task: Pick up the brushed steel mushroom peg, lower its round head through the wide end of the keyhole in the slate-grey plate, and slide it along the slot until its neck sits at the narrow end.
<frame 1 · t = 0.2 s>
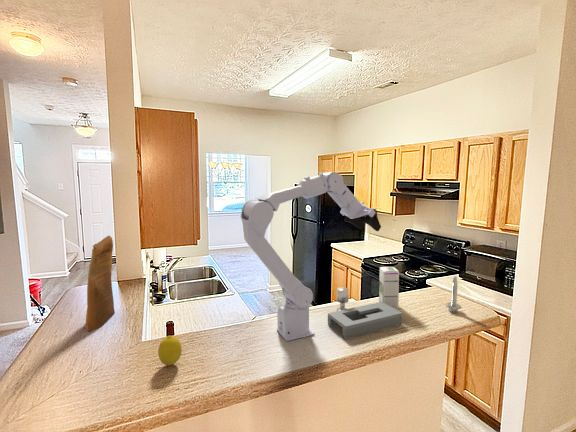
hand: (370, 228, 103), 31 cm above the counter, tool tilted 45°, fingers open, 7 cm apart
keyhole plate: (364, 324, 99), on the counter
syrup box: (388, 307, 113), on the counter
lemon: (170, 366, 78), on the counter
steel peg: (342, 313, 107), on the counter
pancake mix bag: (103, 320, 104), on the counter
screw: (453, 311, 109), on the counter
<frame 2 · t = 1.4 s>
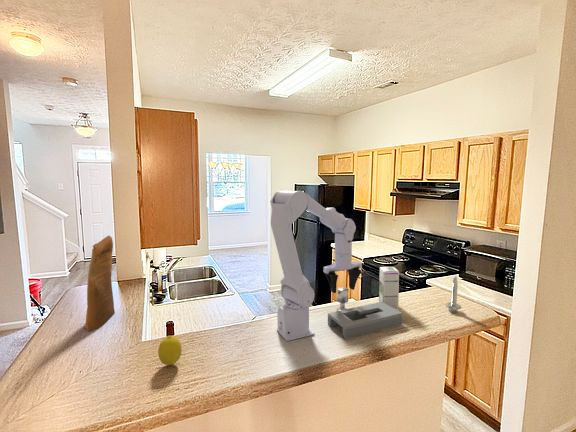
hand: (342, 290, 106), 9 cm above the counter, tool pointing down, fingers open, 7 cm apart
nothing on the counter moved.
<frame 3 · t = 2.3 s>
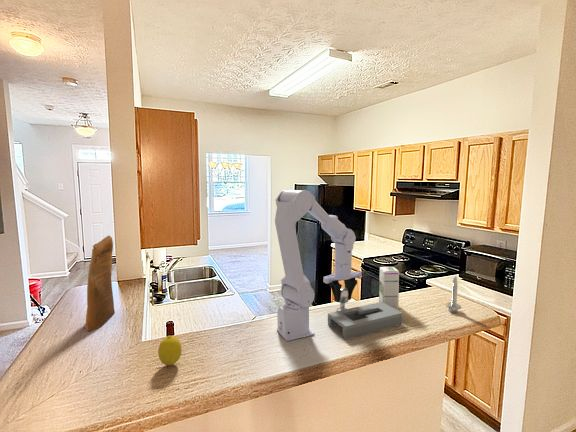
hand: (342, 300, 107), 5 cm above the counter, tool pointing down, fingers closed on steel peg, 4 cm apart
steel peg: (342, 313, 107), on the counter, touching gripper
everything else where it was.
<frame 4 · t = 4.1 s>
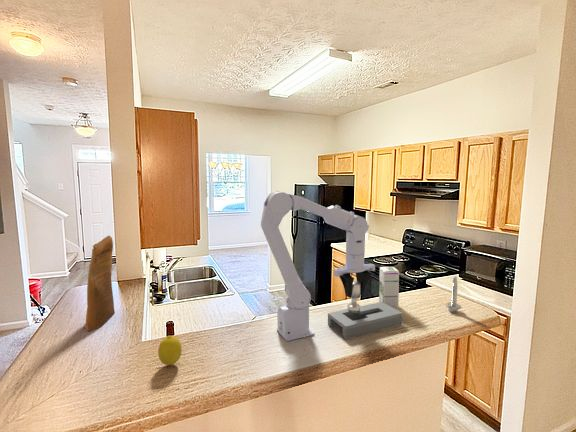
hand: (354, 295, 97), 10 cm above the counter, tool pointing down, fingers closed on steel peg, 4 cm apart
steel peg: (353, 310, 98), point 5 cm above the counter, touching gripper
everything else where it was.
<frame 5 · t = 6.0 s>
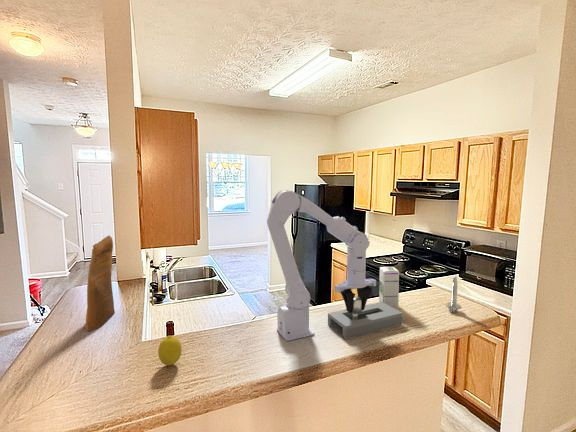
hand: (355, 310, 97), 6 cm above the counter, tool pointing down, fingers closed on steel peg, 4 cm apart
steel peg: (354, 325, 97), point 1 cm above the counter, touching gripper
everything else where it was.
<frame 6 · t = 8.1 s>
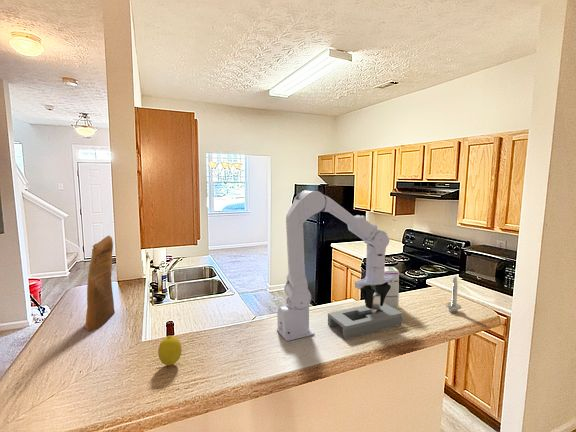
hand: (374, 306, 100), 6 cm above the counter, tool pointing down, fingers closed on steel peg, 4 cm apart
steel peg: (373, 320, 100), point 1 cm above the counter, touching gripper
everything else where it was.
when the fingers open (6 cm above the counter, at t = 10.0 s): steel peg stays where it is, on the counter.
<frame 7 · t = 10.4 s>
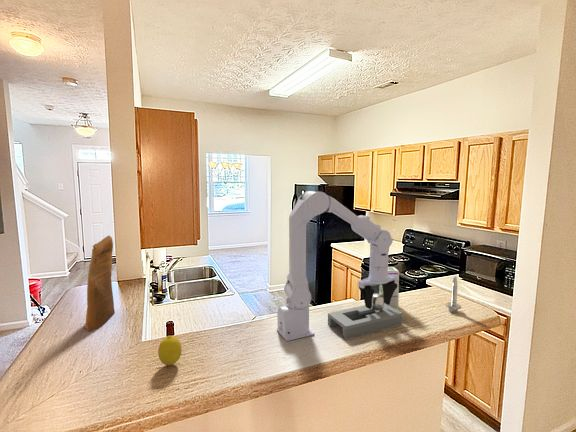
hand: (377, 305, 100), 6 cm above the counter, tool pointing down, fingers open, 7 cm apart
steel peg: (376, 321, 101), on the counter
everything else where it was.
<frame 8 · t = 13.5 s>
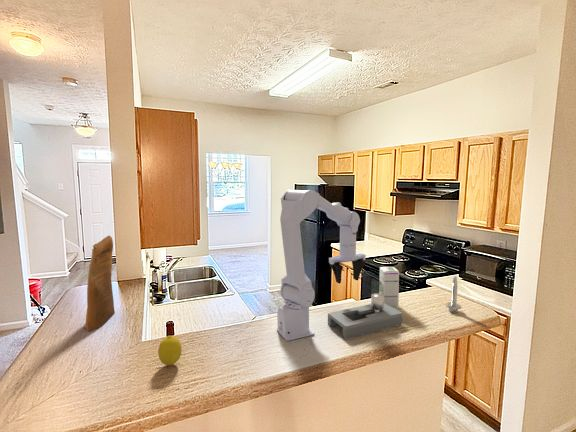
hand: (347, 281, 110), 10 cm above the counter, tool pointing down, fingers open, 7 cm apart
nothing on the counter moved.
at the end: steel peg 0.1 cm from the target spot on the keyhole plate, point 0.0 cm above the keyhole plate's base; steel peg tilted 1°; the gripper is holding nothing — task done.
